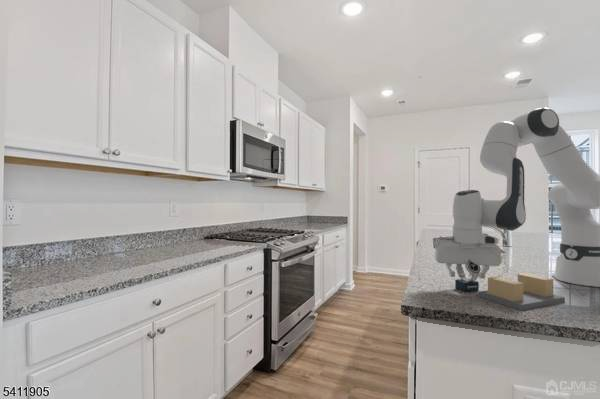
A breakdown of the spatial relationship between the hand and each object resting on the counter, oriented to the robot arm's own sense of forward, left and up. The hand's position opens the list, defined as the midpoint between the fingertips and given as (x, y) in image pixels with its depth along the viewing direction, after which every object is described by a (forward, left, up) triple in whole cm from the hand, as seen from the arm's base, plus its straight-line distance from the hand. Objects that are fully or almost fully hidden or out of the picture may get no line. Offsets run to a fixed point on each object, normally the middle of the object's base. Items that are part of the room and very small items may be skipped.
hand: (466, 277), depth 103 cm
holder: (-7, +13, -4) cm, 15 cm away
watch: (0, 0, -4) cm, 5 cm away
